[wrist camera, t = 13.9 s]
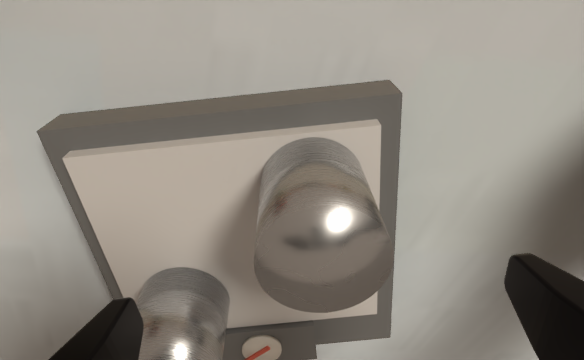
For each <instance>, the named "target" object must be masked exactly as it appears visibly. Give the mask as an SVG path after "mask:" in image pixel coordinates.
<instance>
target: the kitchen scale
mask: <svg viewBox="0 0 584 360" xmlns="http://www.w3.org/2000/svg"><path fill="white" fill-rule="evenodd" d="M401 109H402V92H401V91H400V90H399V89H398V88H397V87H396V86H395V85H394V84H393V83H392V82H391V81H390V80H384V81H374V82H365V83H355V84H346V85H336V86H327V87H317V88H308V89H298V90H289V91H279V92H270V93H260V94H251V95H241V96H232V97H222V98H213V99H203V100H193V101H184V102H174V103H165V104H155V105H146V106H136V107H127V108H117V109H108V110H98V111H89V112H79V113H70V114H60V115H59V116H58V117H56V118H55V119H53V120H52V121H51V122H49V123H48V124H46V125H45V126H44V127H42V128H41V129H39V130H38V131H37V133H38V135H39V138H40V140H41V142H42V144H43V146H44V148H45V151H46V153H47V155H48V157H49V159H50V162H51V164H52V166H53V168H54V170H55V172H56V175H57V177H58V179H59V181H60V183H61V185H62V188H63V190H64V192H65V194H66V196H67V198H68V201H69V203H70V205H71V207H72V209H73V211H74V214H75V216H76V218H77V220H78V222H79V225H80V227H81V229H82V231H83V233H84V235H85V238H86V240H87V242H88V244H89V246H90V248H91V251H92V253H93V255H94V257H95V259H96V261H97V264H98V266H99V268H100V270H101V272H102V275H103V277H104V279H105V281H106V283H107V285H108V288H109V290H110V292H111V294H112V296H113V298H114V299H117V298H126V297H131V298H133V299H134V301H135V303H136V302H137V300H138V298H139V295H140V293H141V290H142V288H143V286H144V284H145V282H146V281H147V280H148V279H149V278H150V277H151V276H153V275H154V274H156V273H158V272H160V271H162V270H165V269H169V268H175V267H187V268H194V269H198V270H201V271H204V272H206V273H209V274H211V275H212V276H214V277H215V278H217V279H218V280H219V281H220V282H221V283H222V284H223V285H224V286H225V288H226V289H227V291H228V294H229V298H230V306H229V313H228V321H227V328H226V335H225V342H224V350H223V357H222V360H308V359H317V355H316V345H317V344H328V343H338V342H349V341H359V340H370V339H380V338H390V331H391V311H392V291H393V271H394V262H393V267H392V270H391V273H390V275H389V277H388V279H387V280H386V282H385V283H384V284H383V286H382V287H381V288H380V289H379V290H378V291H377V292H376V293H375V294H374V295H372V296H371V297H369V298H368V299H367V300H365V301H363V302H361V303H360V304H357V305H355V306H353V307H350V308H347V309H344V310H340V311H335V312H328V313H310V312H303V311H299V310H295V309H292V308H289V307H286V306H284V305H282V304H280V303H279V302H277V301H275V300H274V299H273V298H271V297H270V296H269V295H268V294H267V293H266V292H265V291H264V290H263V289H262V287H261V286H260V284H259V282H258V280H257V278H256V275H255V271H254V251H255V239H256V227H257V215H258V204H259V192H260V180H261V174H262V171H263V168H264V166H265V164H266V163H267V161H268V159H269V158H270V157H271V156H272V155H273V154H274V153H275V152H276V151H277V150H278V149H279V148H281V147H282V146H284V145H286V144H287V143H290V142H292V141H294V140H298V139H302V138H308V137H320V138H327V139H331V140H334V141H336V142H338V143H340V144H342V145H344V146H345V147H347V148H348V149H349V150H350V151H352V152H353V154H354V155H355V156H356V157H357V159H358V160H359V162H360V164H361V167H362V169H363V172H364V174H365V177H366V179H367V182H368V184H369V187H370V189H371V192H372V194H373V197H374V199H375V202H376V204H377V207H378V209H379V212H380V214H381V217H382V219H383V222H384V224H385V227H386V229H387V232H388V234H389V237H390V239H391V242H392V244H393V249H394V251H395V230H396V210H397V190H398V170H399V150H400V129H401Z"/></svg>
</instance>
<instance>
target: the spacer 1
mask: <svg viewBox="0 0 584 360" xmlns="http://www.w3.org/2000/svg"><path fill="white" fill-rule="evenodd" d="M136 305H137V308H138V310H139V312H140V314H141V317H142V319H143V323H144V330H143V336H142V342H141V348H140V353H139V359H138V360H222V357H223V350H224V342H225V335H226V328H227V321H228V313H229V306H230V298H229V294H228V291H227V289H226V288H225V286H224V285H223V284H222V283H221V282H220V281H219V280H218V279H217V278H215V277H214V276H212V275H211V274H209V273H206V272H204V271H201V270H198V269H194V268H187V267H175V268H169V269H165V270H162V271H160V272H158V273H156V274H154V275H153V276H151V277H150V278H149V279H148V280H147V281H146V282H145V284H144V286H143V288H142V290H141V293H140V295H139V298H138V300H137V302H136Z"/></svg>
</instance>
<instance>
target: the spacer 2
mask: <svg viewBox="0 0 584 360" xmlns="http://www.w3.org/2000/svg"><path fill="white" fill-rule="evenodd" d="M393 262H394V249H393V244H392V242H391V239H390V237H389V234H388V232H387V229H386V227H385V224H384V222H383V219H382V217H381V214H380V212H379V209H378V207H377V204H376V202H375V199H374V197H373V194H372V192H371V189H370V187H369V184H368V182H367V179H366V177H365V174H364V172H363V169H362V167H361V164H360V162H359V160H358V159H357V157H356V156H355V155H354V154H353V152H352V151H350V150H349V149H348V148H347V147H345V146H344V145H342V144H340V143H338V142H336V141H334V140H331V139H327V138H320V137H308V138H302V139H298V140H294V141H292V142H290V143H287V144H286V145H284V146H282V147H281V148H279V149H278V150H277V151H276V152H275V153H274V154H273V155H272V156H271V157H270V158H269V159H268V161H267V163H266V164H265V166H264V168H263V171H262V174H261V180H260V192H259V204H258V215H257V227H256V239H255V251H254V271H255V275H256V278H257V280H258V282H259V284H260V286H261V287H262V289H263V290H264V291H265V292H266V293H267V294H268V295H269V296H270V297H271V298H273V299H274V300H275V301H277V302H279V303H280V304H282V305H284V306H286V307H289V308H292V309H295V310H299V311H303V312H310V313H328V312H335V311H340V310H344V309H347V308H350V307H353V306H355V305H357V304H360V303H361V302H363V301H365V300H367V299H368V298H369V297H371V296H372V295H374V294H375V293H376V292H377V291H378V290H379V289H380V288H381V287H382V286H383V284H384V283H385V282H386V280H387V279H388V277H389V275H390V273H391V270H392V267H393Z"/></svg>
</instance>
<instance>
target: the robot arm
mask: <svg viewBox="0 0 584 360" xmlns="http://www.w3.org/2000/svg"><path fill="white" fill-rule="evenodd" d="M504 284H505V289H506V291H507V294H508V296H509V298H510V300H511V302H512V304H513V306H514V309H515V311H516V313H517V315H518V317H519V319H520V322H521V324H522V326H523V328H524V330H525V332H526V335H527V337H528V339H529V341H530V343H531V345H532V347H533V349H534V351H535V353H536V355H537V356H538V358H539V360H584V281H582V280H580V279H578V278H576V277H574V276H573V275H571V274H569V273H567V272H565V271H563V270H561V269H559V268H557V267H556V266H554V265H552V264H550V263H548V262H546V261H544V260H542V259H540V258H539V257H537V256H535V255H533V254H530V253H525V254H516V255H512V256H511V257H510V259H509V262H508V267H507V271H506V275H505V280H504ZM143 330H144V323H143V319H142V317H141V314H140V312H139V310H138V308H137V305H136V303H135V301H134V299H133V298H131V297H126V298H117V299H114V300H112V301H111V302H110V303H109V304H108V305H107V306H106V307H105V308H104V309H102V310H101V311H100V312H99V313H98V314H97V315H96V316H95V317H94V318H93V319H92V320H91V321H90V322H88V323H87V324H86V325H85V326H84V327H83V328H82V329H81V330H80V331H79V332H78V333H77V334H76V335H74V336H73V337H72V338H71V339H70V340H69V341H68V342H67V343H66V344H65V345H64V346H63V347H62V348H60V349H59V350H58V351H57V352H56V353H55V354H54V355H53V356H52V357H51V358H50V359H49V360H138V359H139V353H140V348H141V342H142V336H143Z"/></svg>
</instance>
